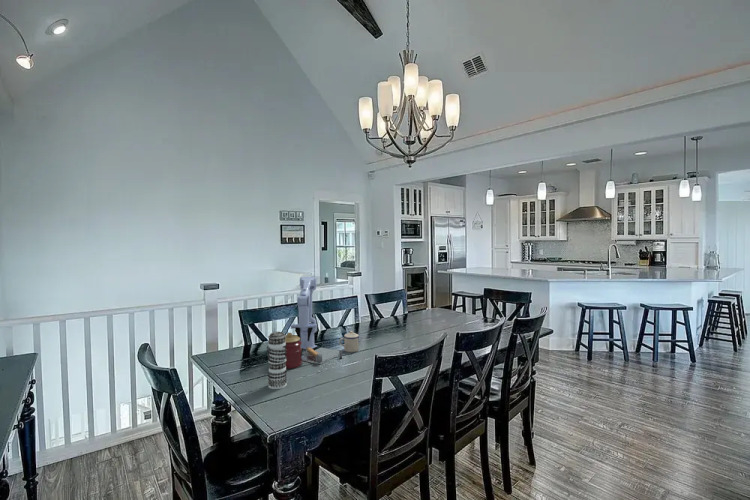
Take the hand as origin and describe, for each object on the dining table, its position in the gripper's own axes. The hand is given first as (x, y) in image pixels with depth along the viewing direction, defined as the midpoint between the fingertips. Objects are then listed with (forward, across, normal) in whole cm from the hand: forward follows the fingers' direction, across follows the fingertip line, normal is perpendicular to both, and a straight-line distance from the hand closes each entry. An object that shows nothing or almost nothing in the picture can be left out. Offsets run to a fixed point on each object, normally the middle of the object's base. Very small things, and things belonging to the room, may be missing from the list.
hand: (304, 340), depth 216 cm
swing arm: (+9, +5, -1) cm, 11 cm away
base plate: (+10, +11, +3) cm, 15 cm away
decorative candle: (+11, -7, -37) cm, 39 cm away
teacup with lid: (+11, +25, +16) cm, 31 cm away
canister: (+11, -6, -9) cm, 15 cm away
